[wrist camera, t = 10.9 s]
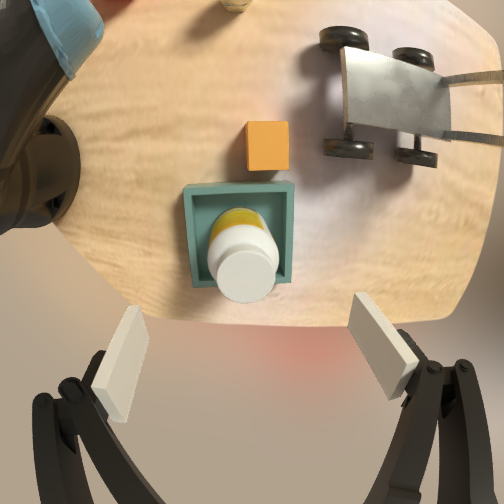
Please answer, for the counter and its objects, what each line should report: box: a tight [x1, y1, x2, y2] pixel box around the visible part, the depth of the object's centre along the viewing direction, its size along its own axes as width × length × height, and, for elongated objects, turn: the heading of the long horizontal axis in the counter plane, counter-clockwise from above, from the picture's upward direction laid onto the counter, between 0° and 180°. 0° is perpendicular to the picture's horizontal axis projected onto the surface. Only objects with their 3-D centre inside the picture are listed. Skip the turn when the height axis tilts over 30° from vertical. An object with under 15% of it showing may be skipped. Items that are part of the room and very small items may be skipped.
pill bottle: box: [207, 206, 279, 303], centre depth 27 cm, size 6×6×12 cm
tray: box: [183, 181, 294, 288], centre depth 31 cm, size 12×12×3 cm
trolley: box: [319, 26, 504, 168], centre depth 19 cm, size 16×15×18 cm
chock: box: [245, 121, 289, 171], centre depth 27 cm, size 4×5×4 cm
